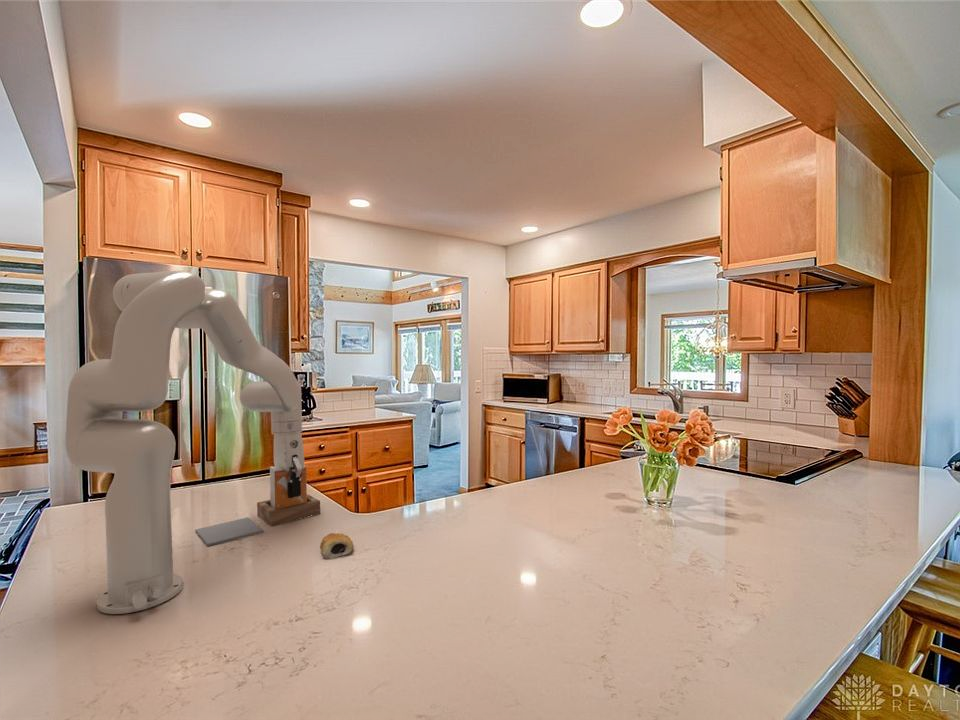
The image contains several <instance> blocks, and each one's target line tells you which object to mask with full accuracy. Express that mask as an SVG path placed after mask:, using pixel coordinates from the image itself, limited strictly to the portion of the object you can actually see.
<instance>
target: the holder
mask: <svg viewBox="0 0 960 720" xmlns="http://www.w3.org/2000/svg"><path fill="white" fill-rule="evenodd" d="M256 507H257V517H259V518H260V519H261V520H262V521H264V522H265V523H266V522H267V524H268V525H269V526H271V527H274V526H278V525H283V524H286V522H287V523H291V522H294V520H295V521H298V520H297V519H299V520H301V519H300V518H303V519H305V518H304V517H307V518H309V517H308V516H311V515H315V516H317V515H316V514H319V515H321V500H319V499H317V498H315V497H314V496H312V495H310V494H308V493H307V502H306V503H301V504H297V505H293V506H288V507H284V508H280V509H274V508H272V507H271V501H270V499H268V500H263V501H258V502H256ZM311 517H312V516H311ZM290 521H291V522H290ZM282 523H283V524H282Z"/></svg>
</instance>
